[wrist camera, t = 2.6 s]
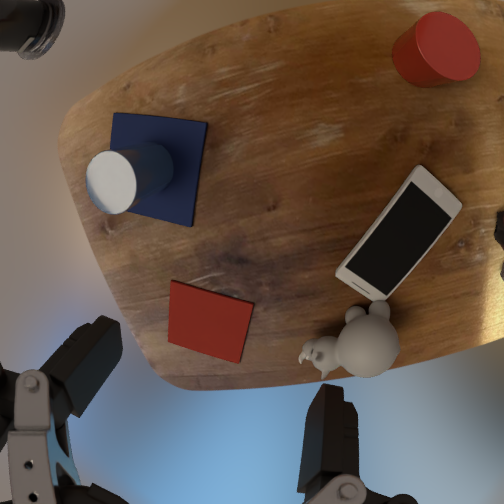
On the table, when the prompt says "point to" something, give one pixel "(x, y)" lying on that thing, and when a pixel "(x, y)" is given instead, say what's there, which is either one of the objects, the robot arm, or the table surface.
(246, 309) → the red mat
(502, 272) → the stuffed fox
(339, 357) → the toy rhinoceros
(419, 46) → the red cylinder
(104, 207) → the grey-blue cylinder
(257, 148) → the table surface
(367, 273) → the smartphone
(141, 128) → the blue mat
